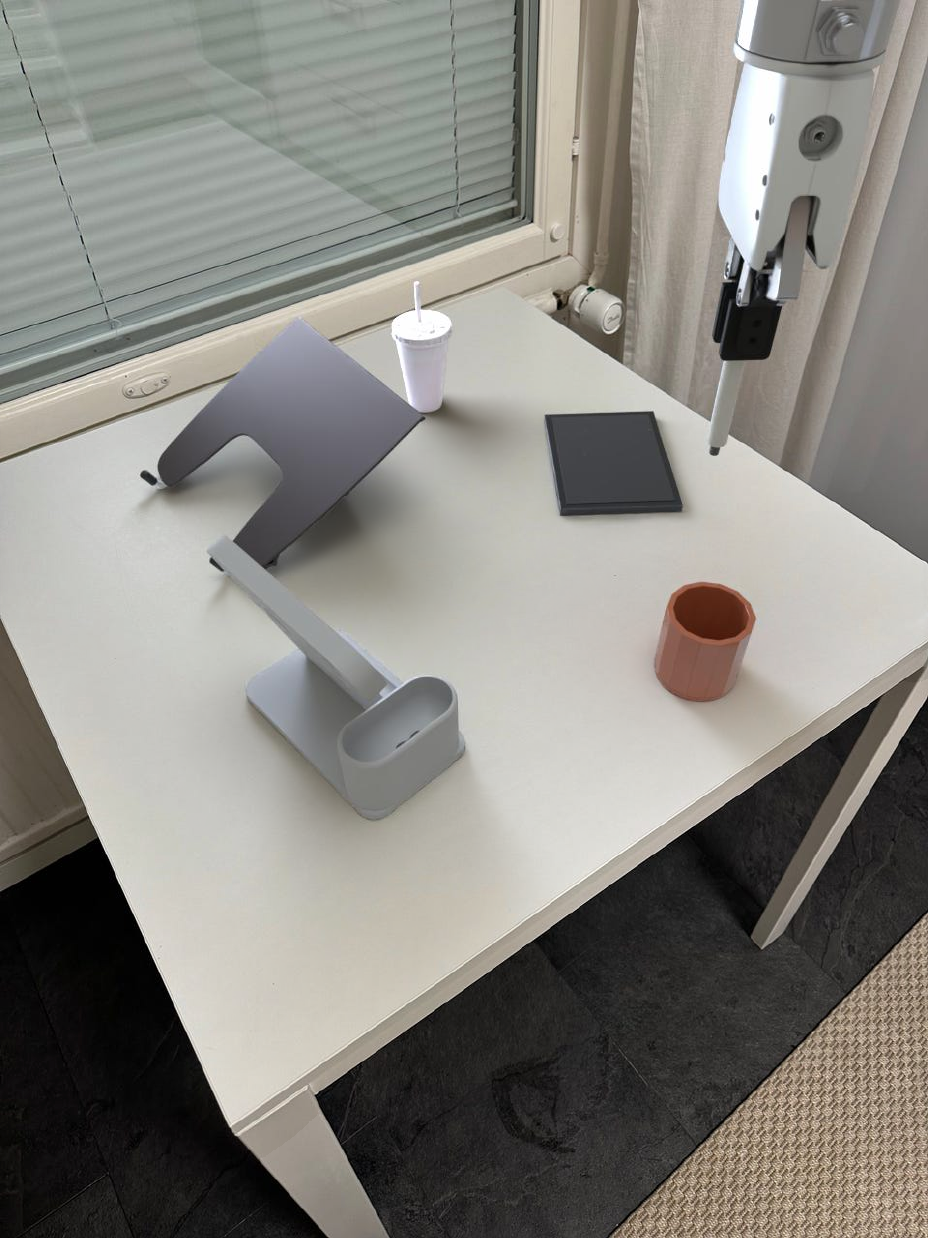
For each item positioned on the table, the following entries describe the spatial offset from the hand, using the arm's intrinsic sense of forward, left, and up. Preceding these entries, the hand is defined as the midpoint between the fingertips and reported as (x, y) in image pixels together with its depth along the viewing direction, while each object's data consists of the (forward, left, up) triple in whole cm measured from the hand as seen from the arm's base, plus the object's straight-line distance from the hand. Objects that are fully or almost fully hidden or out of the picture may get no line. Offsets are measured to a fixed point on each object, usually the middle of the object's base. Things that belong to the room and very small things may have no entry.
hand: (739, 347), depth 59 cm
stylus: (0, 0, -9) cm, 9 cm away
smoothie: (+22, -34, -26) cm, 48 cm away
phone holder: (+28, +10, -26) cm, 39 cm away
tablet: (+3, -22, -26) cm, 34 cm away
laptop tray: (+37, -19, -26) cm, 49 cm away
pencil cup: (0, +6, -26) cm, 27 cm away
